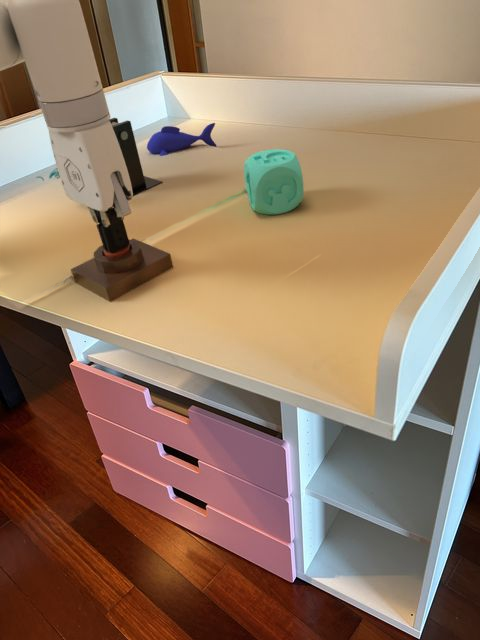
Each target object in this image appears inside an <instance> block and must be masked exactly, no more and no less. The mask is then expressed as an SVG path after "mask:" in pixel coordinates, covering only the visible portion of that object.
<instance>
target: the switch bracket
mask: <svg viewBox="0 0 480 640" xmlns="http://www.w3.org/2000/svg"><path fill="white" fill-rule="evenodd" d="M109 121H110V123H112V122H116V123H118V124H116V125H113V126H112V128H113V130H114V132H115V135H116V138H117V140H118V143H119V146H120V149H121V151H122V155H123V158H124V161H125V164H126V167H127V170H128V174H129V177H130V181H131V186H132V191H133V197H135V196H137V195H139V194H141V193H143V192H146V191H148V190H150V189H153V188H155V187H157V186H159V185H162V184H164V181H162V180H159V179H155V178H152V177H150V176H149V177H148V176H146V175H144V171H143V167H142V163H141V159H140V154H139V151H138V145H137V142H136V139H135V133H134V131H133V126H132V122H131V121H130V120H129V119H128V120H125V121H121V122H119V119H118V118H117V117H113V118H110V119H109Z"/></svg>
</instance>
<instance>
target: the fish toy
mask: <svg viewBox="0 0 480 640" xmlns="http://www.w3.org/2000/svg"><path fill="white" fill-rule="evenodd" d="M215 126H216V123H215V122H212V123H209V124H208V125H206V126H205V127H204V129H202V131H201V133H200V135H194V134H189V133H186V132H183V131H180V130H181V128H179V127H177V126H173V125H172V126H171V125H166V126H163V127H161V129H160V130H159V131H157V132H154V133H153V135H151V137H150V138H149V140H148V142H147V145H146V149H147V151H148V152H149V153H150V154H151V155H152V154H153V155H159V157H164V156H168V155H169V153H172V152H177V151H181V150H184V149H186V148H187V149H188V148H191V147H192V145H193V144H195V143H196V142H198V141H202V142H204V143H205V144H206V145H207V146H209V147H217V143H216V142H215V141H214V140H213V138H212V136H211V135H212V134H211V133H212V131H213V129H214V128H215Z"/></svg>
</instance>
